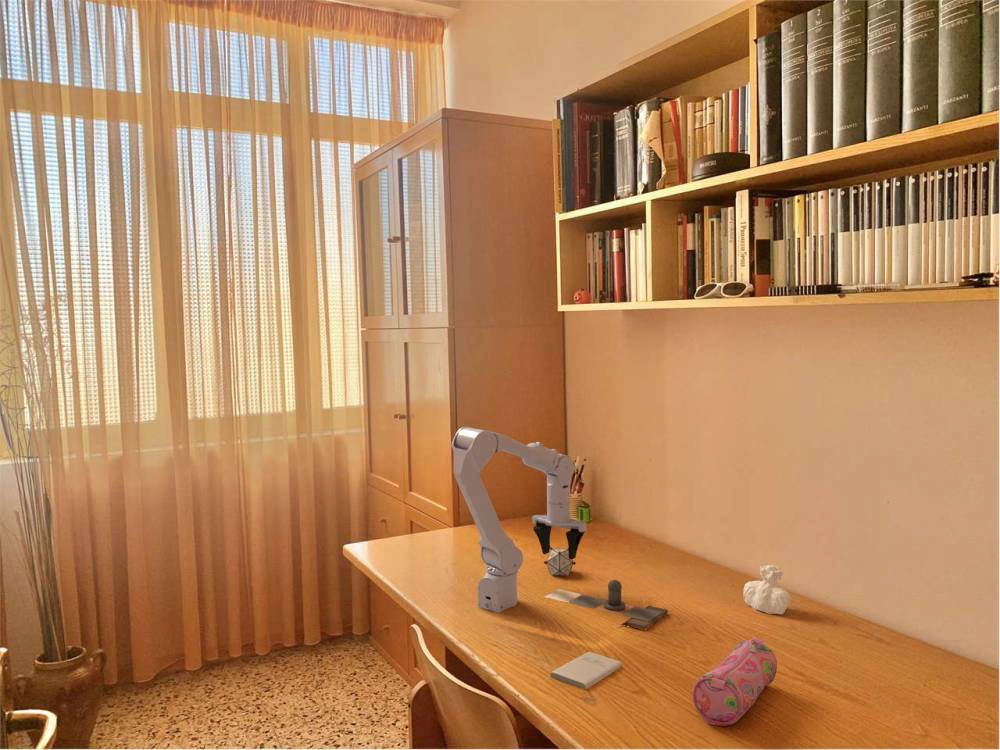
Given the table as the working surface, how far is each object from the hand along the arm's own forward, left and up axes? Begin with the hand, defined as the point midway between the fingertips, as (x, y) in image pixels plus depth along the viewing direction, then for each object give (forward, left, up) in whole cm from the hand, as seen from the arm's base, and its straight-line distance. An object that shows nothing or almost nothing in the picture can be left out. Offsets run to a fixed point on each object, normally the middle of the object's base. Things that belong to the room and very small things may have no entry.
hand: (559, 555), depth 197 cm
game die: (+10, +6, -10) cm, 15 cm away
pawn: (-4, -18, -8) cm, 20 cm away
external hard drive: (-34, -28, -10) cm, 45 cm away
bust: (+18, -46, -10) cm, 50 cm away
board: (-4, -14, -9) cm, 17 cm away
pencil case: (-30, -56, -10) cm, 64 cm away
